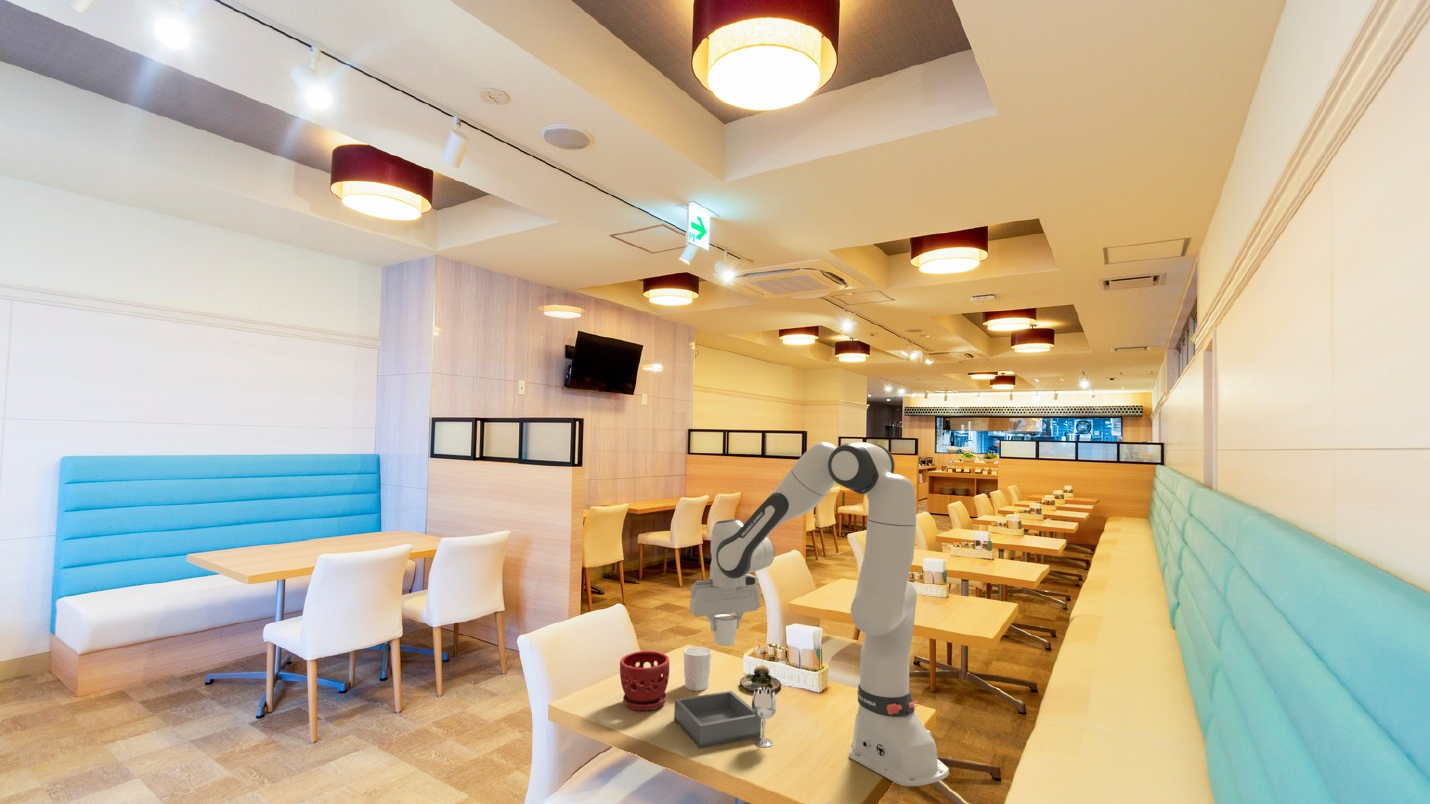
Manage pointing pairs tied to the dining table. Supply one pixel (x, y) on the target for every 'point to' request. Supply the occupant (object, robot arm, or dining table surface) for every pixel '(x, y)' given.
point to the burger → (760, 679)
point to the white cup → (697, 668)
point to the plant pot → (644, 680)
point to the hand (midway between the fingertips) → (724, 629)
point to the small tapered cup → (725, 629)
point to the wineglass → (763, 710)
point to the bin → (716, 719)
